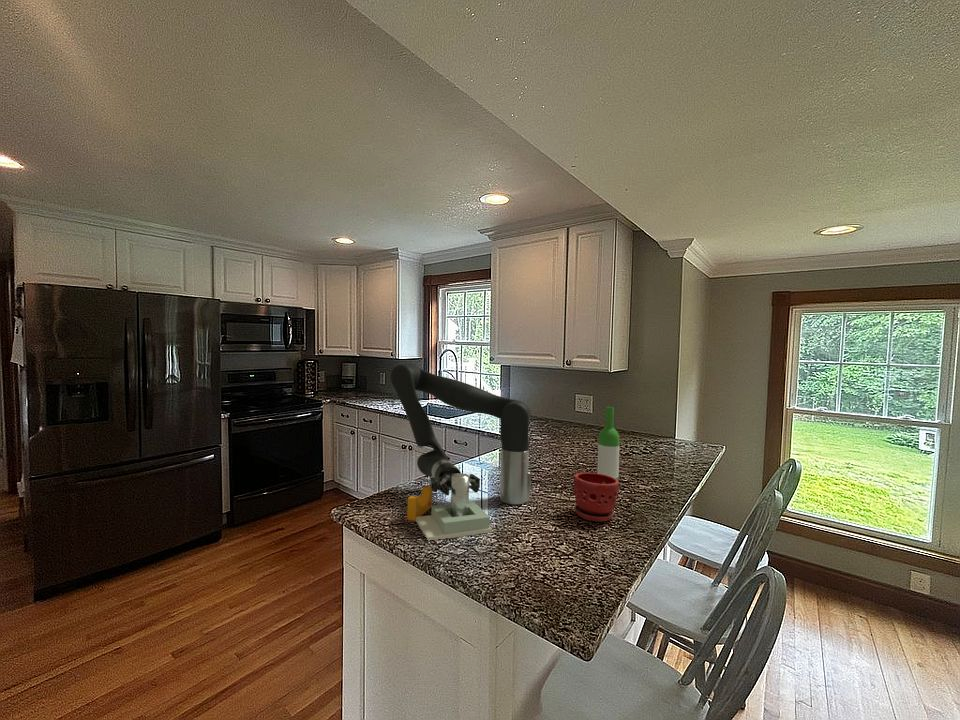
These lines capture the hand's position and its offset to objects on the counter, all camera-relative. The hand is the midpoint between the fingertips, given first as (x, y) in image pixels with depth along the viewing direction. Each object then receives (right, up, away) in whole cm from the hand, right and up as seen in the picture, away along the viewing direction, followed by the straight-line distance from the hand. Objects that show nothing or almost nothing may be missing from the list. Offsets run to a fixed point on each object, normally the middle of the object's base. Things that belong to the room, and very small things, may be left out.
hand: (462, 490), depth 113 cm
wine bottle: (+54, -12, +44) cm, 71 cm away
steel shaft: (-1, -9, +2) cm, 10 cm away
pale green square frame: (-3, -10, +1) cm, 11 cm away
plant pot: (+40, -12, +12) cm, 44 cm away
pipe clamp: (-14, -10, +10) cm, 21 cm away
